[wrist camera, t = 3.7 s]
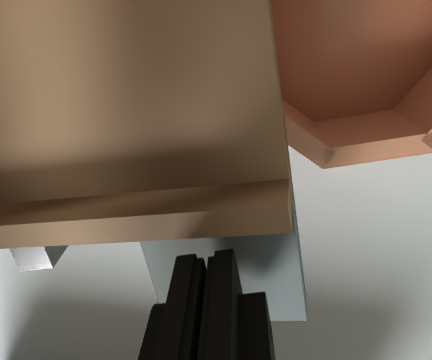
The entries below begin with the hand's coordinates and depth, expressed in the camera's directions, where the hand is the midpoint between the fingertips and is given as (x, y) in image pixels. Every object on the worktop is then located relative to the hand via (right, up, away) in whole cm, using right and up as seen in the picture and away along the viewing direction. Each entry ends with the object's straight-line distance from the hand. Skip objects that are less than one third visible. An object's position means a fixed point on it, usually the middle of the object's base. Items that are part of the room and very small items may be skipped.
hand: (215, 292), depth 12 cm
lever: (-6, +5, +3) cm, 9 cm away
